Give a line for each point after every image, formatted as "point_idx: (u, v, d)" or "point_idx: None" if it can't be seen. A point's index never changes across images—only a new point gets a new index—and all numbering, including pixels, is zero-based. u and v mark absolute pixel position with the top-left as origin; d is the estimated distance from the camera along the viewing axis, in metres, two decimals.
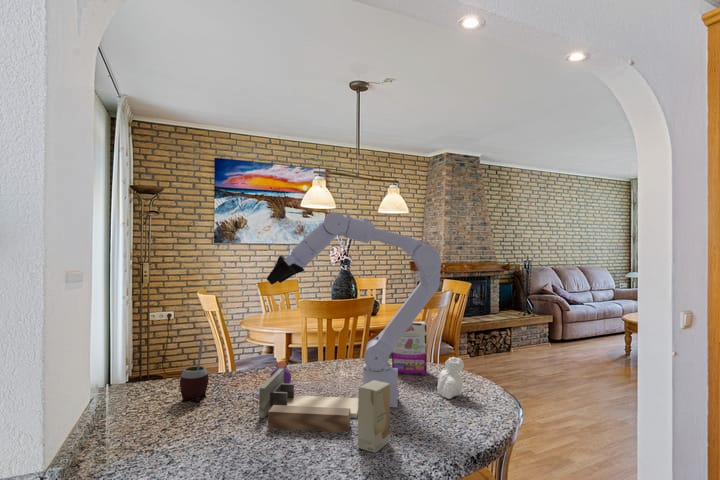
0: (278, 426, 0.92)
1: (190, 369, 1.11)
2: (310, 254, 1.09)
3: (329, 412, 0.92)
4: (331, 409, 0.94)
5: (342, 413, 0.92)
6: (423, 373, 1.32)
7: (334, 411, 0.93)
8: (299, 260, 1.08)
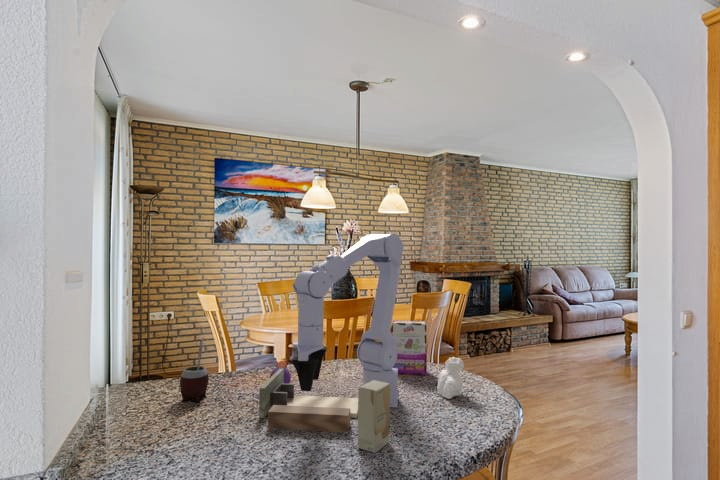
0: (278, 426, 0.92)
1: (190, 369, 1.11)
2: (316, 331, 0.92)
3: (329, 412, 0.92)
4: (331, 409, 0.94)
5: (342, 413, 0.92)
6: (423, 373, 1.32)
7: (334, 411, 0.93)
8: (312, 346, 0.91)
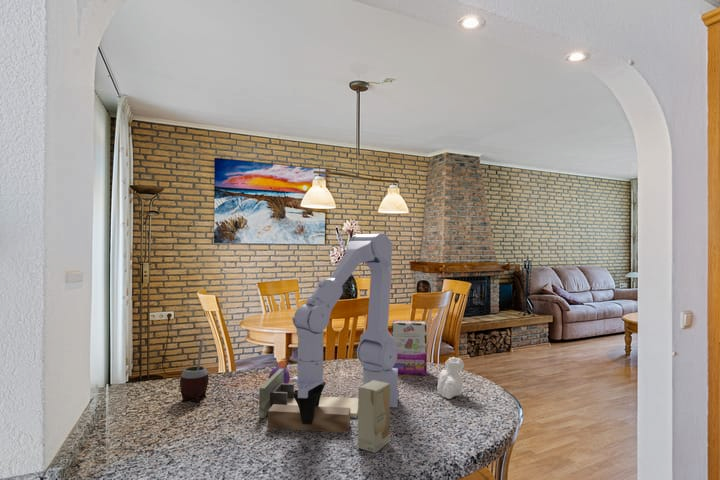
0: (278, 425, 0.92)
1: (190, 369, 1.11)
2: (316, 366, 0.92)
3: (329, 412, 0.92)
4: (331, 408, 0.94)
5: (342, 412, 0.92)
6: (423, 373, 1.32)
7: (334, 410, 0.93)
8: (312, 381, 0.91)
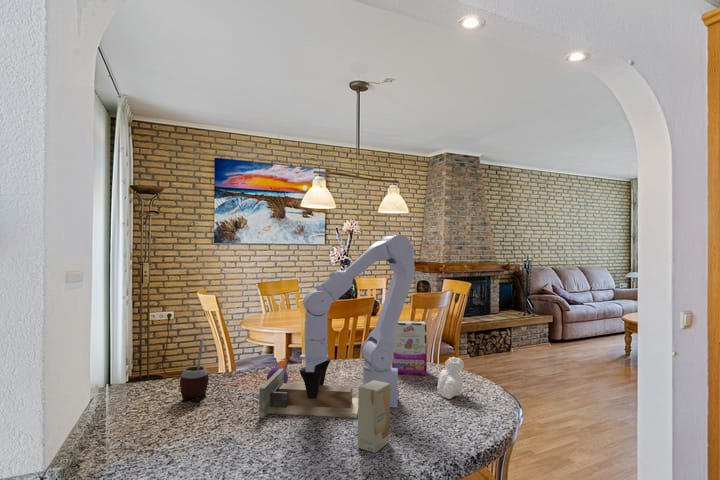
0: (288, 401, 1.03)
1: (190, 369, 1.11)
2: (321, 345, 1.03)
3: (333, 389, 1.03)
4: (335, 387, 1.05)
5: (345, 390, 1.03)
6: (423, 373, 1.32)
7: (337, 388, 1.04)
8: (318, 358, 1.02)
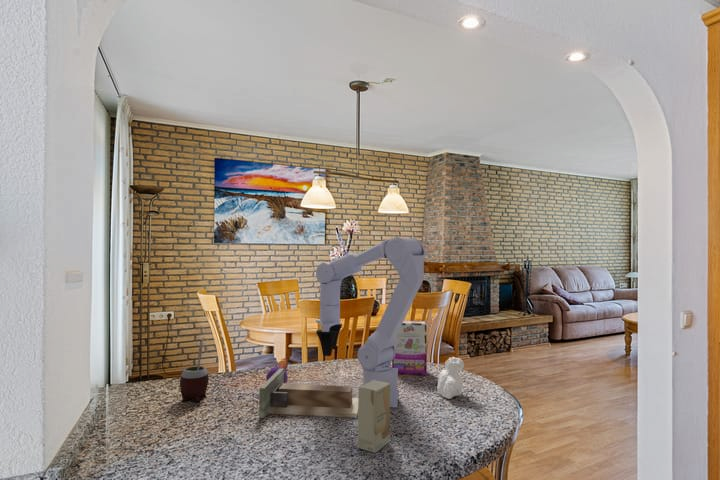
0: (288, 401, 1.03)
1: (190, 369, 1.11)
2: (334, 309, 1.17)
3: (333, 389, 1.03)
4: (335, 387, 1.05)
5: (345, 390, 1.03)
6: (423, 373, 1.32)
7: (337, 388, 1.04)
8: (332, 321, 1.16)
